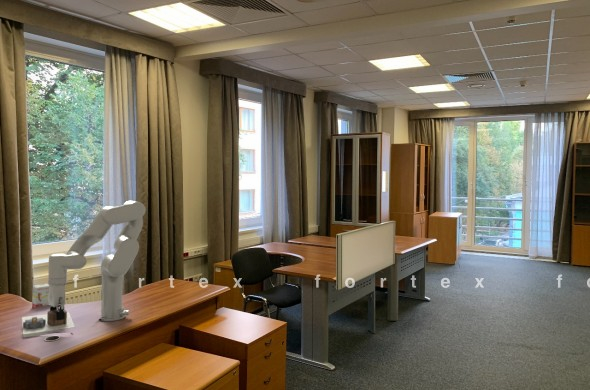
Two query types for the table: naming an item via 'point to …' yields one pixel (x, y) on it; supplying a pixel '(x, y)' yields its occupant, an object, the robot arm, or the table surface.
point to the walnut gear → (52, 318)
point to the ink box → (40, 295)
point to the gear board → (42, 325)
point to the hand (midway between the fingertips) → (57, 317)
